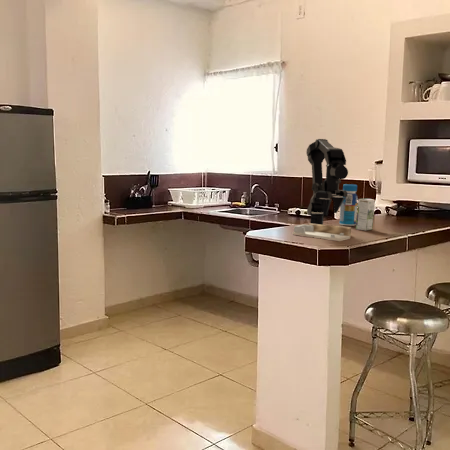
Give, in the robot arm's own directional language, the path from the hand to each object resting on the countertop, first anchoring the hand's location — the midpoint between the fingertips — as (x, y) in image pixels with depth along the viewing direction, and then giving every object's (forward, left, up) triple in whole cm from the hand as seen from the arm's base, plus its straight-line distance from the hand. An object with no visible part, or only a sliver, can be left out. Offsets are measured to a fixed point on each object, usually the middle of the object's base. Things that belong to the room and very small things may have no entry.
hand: (330, 213), depth 239 cm
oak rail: (0, 0, -9) cm, 9 cm away
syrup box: (-27, +4, -9) cm, 29 cm away
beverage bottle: (-36, -9, -9) cm, 38 cm away
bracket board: (+9, +1, -9) cm, 13 cm away
